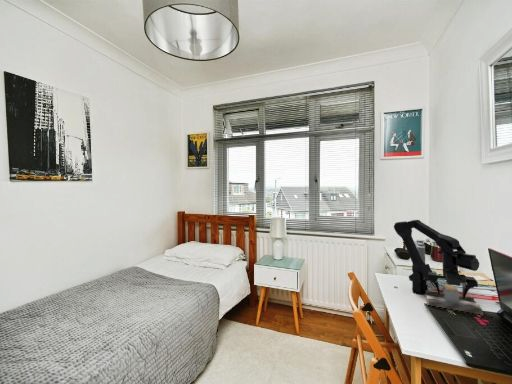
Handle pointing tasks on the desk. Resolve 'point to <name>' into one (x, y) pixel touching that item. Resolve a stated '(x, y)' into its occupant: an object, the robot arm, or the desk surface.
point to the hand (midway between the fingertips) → (451, 296)
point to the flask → (420, 248)
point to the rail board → (464, 304)
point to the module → (451, 294)
